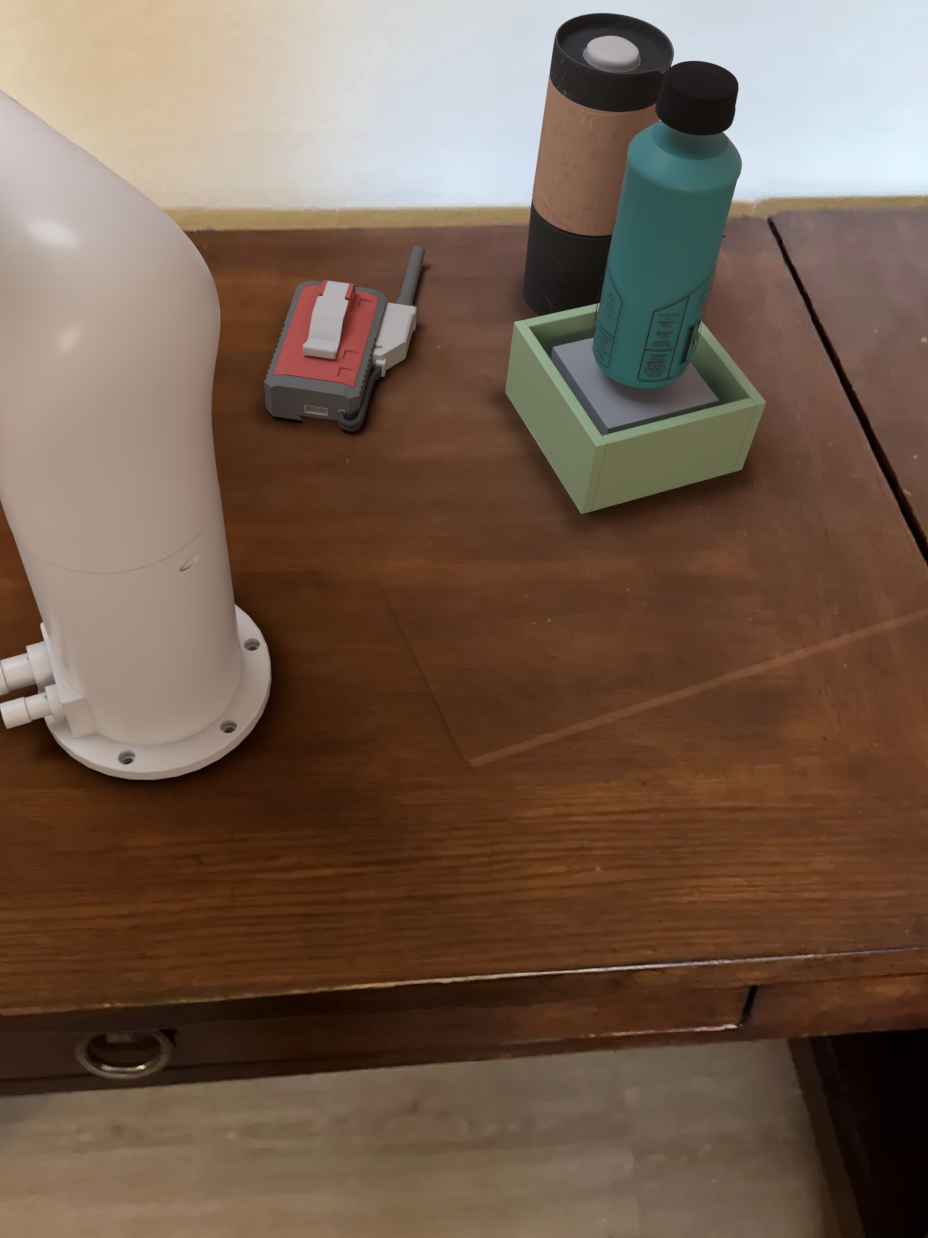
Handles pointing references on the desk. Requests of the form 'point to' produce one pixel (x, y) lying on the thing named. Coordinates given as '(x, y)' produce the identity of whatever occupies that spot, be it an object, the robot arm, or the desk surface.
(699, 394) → the block
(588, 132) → the travel mug
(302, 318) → the walkie-talkie
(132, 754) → the robot arm
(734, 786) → the desk surface
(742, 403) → the crate
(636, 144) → the beverage bottle
